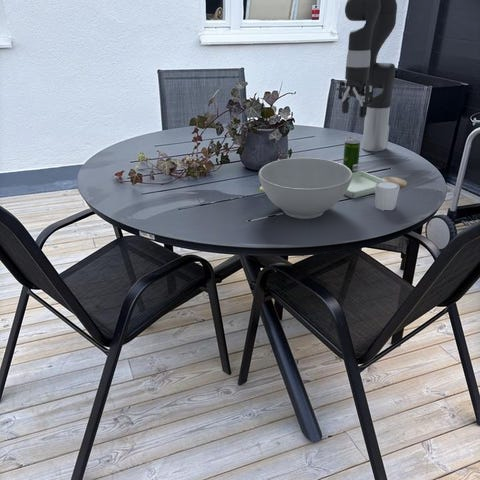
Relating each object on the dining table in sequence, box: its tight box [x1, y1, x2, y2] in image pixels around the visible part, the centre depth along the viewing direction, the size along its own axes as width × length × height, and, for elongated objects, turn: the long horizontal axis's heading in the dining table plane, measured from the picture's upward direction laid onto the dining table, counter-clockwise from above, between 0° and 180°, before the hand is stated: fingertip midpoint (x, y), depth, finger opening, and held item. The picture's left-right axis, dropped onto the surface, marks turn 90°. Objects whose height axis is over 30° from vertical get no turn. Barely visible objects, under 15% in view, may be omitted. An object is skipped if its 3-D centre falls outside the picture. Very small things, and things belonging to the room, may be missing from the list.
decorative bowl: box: [258, 157, 353, 220], centre depth 135 cm, size 27×27×12 cm
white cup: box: [374, 181, 401, 211], centre depth 137 cm, size 7×7×7 cm
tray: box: [343, 170, 386, 200], centre depth 153 cm, size 16×14×2 cm
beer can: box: [342, 136, 361, 173], centre depth 164 cm, size 5×5×12 cm
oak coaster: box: [381, 176, 408, 189], centre depth 155 cm, size 9×9×1 cm
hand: (353, 115), depth 157 cm, fingers open, 8 cm apart
